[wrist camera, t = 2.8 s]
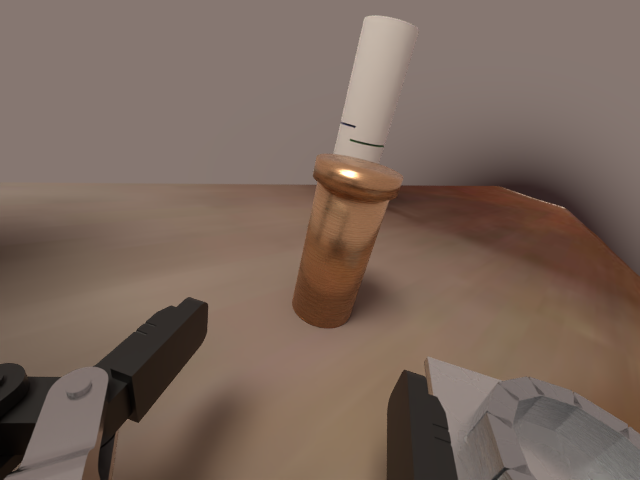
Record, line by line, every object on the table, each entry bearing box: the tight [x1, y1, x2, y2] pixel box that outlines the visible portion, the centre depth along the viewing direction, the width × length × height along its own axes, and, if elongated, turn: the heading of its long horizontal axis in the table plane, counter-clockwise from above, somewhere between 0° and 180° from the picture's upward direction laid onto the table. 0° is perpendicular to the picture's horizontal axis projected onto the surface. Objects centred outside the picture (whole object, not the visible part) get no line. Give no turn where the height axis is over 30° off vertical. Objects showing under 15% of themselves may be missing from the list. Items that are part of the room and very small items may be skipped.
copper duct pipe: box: [292, 154, 403, 328], centre depth 21 cm, size 6×6×12 cm
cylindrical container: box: [334, 16, 419, 164], centre depth 42 cm, size 7×7×25 cm
